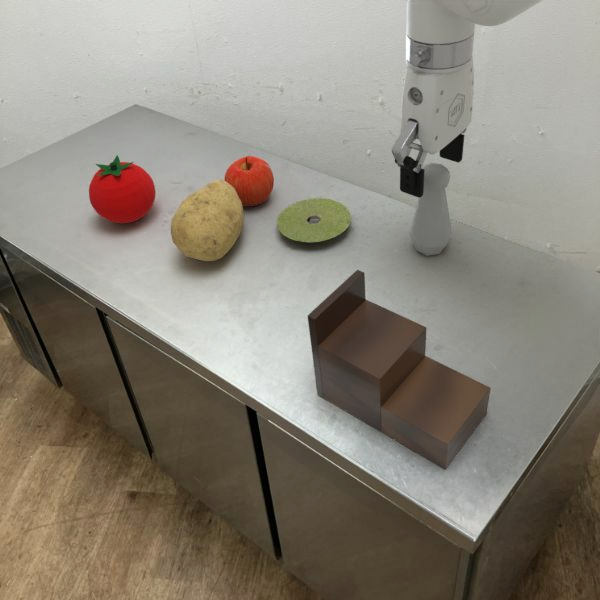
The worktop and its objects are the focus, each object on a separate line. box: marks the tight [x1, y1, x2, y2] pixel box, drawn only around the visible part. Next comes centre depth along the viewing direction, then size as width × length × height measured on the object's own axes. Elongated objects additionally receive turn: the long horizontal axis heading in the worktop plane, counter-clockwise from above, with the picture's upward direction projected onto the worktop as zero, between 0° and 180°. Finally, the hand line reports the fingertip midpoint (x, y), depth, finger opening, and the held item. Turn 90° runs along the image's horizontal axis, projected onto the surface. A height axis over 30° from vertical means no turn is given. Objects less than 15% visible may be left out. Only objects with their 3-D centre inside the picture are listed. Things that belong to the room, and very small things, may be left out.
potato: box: [170, 179, 245, 262], centre depth 95 cm, size 10×14×10 cm
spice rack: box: [307, 269, 492, 470], centre depth 69 cm, size 17×9×13 cm, turn 50°
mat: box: [276, 197, 352, 243], centre depth 99 cm, size 11×11×2 cm
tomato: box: [88, 154, 156, 224], centre depth 104 cm, size 10×10×10 cm
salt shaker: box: [409, 162, 453, 256], centre depth 89 cm, size 6×6×13 cm
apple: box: [223, 155, 275, 207], centre depth 104 cm, size 8×8×8 cm
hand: (431, 175), depth 86 cm, fingers open, 9 cm apart
